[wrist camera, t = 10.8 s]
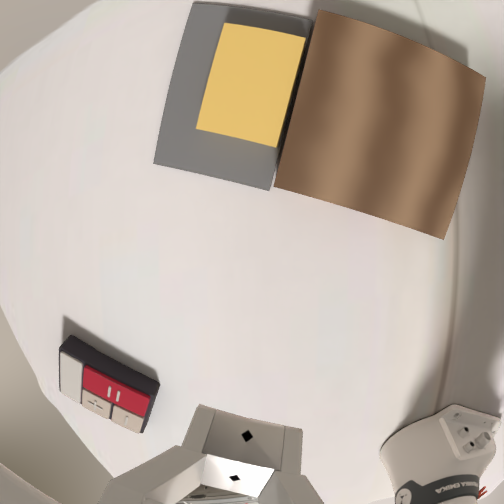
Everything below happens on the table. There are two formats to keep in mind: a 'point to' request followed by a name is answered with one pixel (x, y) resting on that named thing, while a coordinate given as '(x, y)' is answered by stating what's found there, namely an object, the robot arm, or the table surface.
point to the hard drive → (216, 497)
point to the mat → (192, 92)
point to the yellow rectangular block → (251, 83)
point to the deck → (381, 125)
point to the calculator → (105, 385)
